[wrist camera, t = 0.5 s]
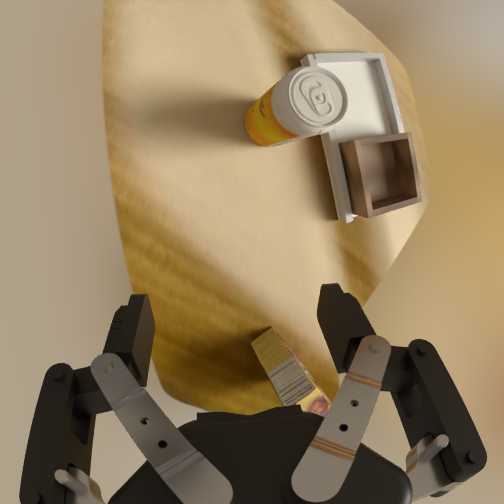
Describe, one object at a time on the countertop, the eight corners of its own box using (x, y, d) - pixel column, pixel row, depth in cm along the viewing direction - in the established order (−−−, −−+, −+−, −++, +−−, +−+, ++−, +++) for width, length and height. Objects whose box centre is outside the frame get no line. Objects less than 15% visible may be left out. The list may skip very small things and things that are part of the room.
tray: (300, 60, 35) (307, 54, 32) (374, 58, 37) (384, 53, 34) (338, 220, 41) (347, 223, 39) (405, 199, 43) (416, 201, 41)
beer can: (277, 94, 35) (332, 54, 21) (298, 135, 37) (363, 118, 23) (235, 111, 35) (270, 74, 21) (256, 155, 37) (304, 143, 23)
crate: (335, 143, 38) (354, 140, 33) (390, 134, 39) (410, 131, 35) (349, 213, 40) (368, 218, 36) (401, 198, 42) (422, 201, 38)
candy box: (303, 361, 46) (348, 425, 31) (280, 377, 45) (318, 445, 31) (273, 323, 43) (318, 388, 28) (248, 341, 43) (282, 412, 28)
